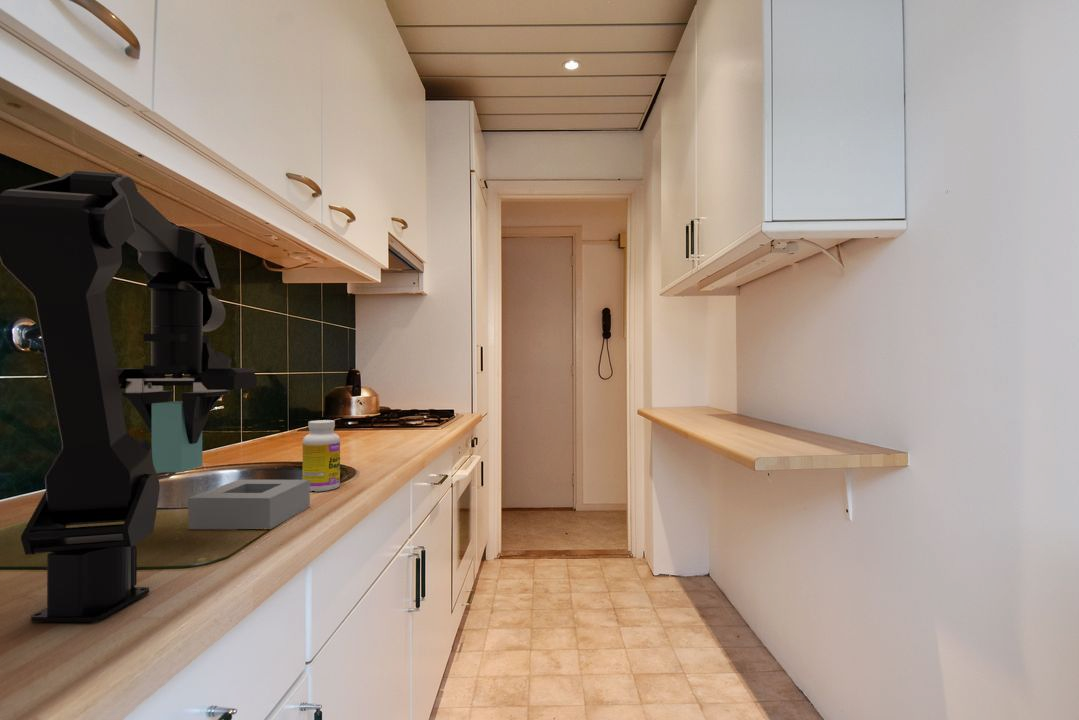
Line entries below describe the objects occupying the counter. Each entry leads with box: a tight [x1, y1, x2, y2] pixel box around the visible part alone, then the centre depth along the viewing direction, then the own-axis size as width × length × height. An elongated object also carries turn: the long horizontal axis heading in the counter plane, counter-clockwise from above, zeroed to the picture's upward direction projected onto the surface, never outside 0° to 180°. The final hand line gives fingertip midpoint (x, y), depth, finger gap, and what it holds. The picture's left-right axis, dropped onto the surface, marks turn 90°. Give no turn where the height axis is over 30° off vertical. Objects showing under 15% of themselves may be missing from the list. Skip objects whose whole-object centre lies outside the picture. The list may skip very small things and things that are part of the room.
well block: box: [187, 479, 311, 531], centre depth 81 cm, size 12×12×4 cm
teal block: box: [151, 400, 203, 473], centre depth 70 cm, size 4×4×9 cm
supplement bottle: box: [301, 419, 341, 493], centre depth 100 cm, size 7×7×13 cm
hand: (177, 443), depth 70 cm, fingers closed on teal block, 4 cm apart
